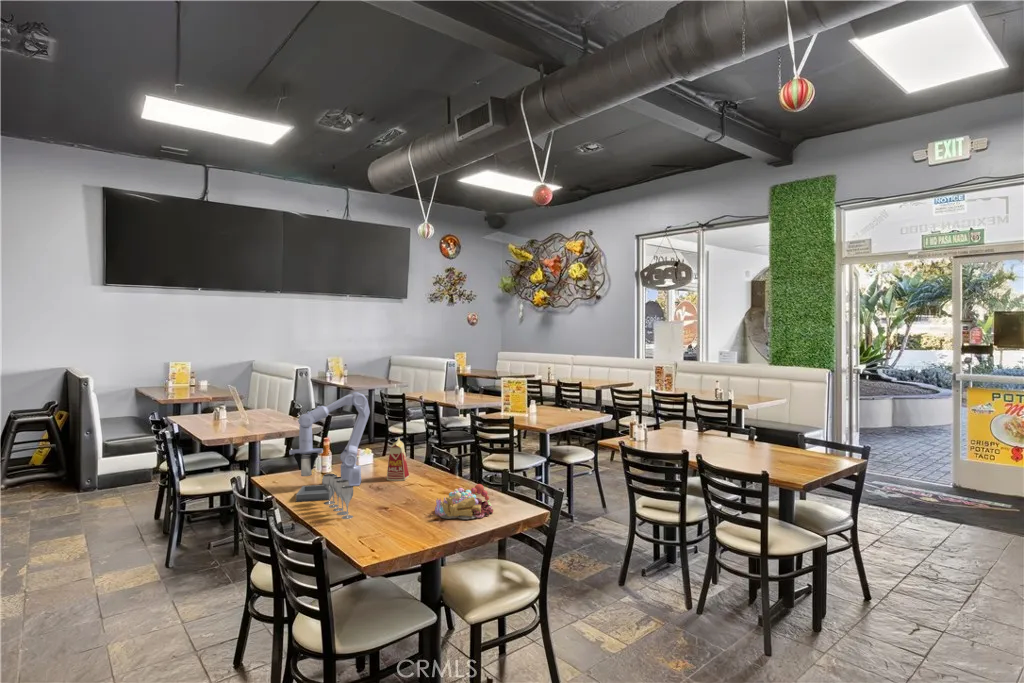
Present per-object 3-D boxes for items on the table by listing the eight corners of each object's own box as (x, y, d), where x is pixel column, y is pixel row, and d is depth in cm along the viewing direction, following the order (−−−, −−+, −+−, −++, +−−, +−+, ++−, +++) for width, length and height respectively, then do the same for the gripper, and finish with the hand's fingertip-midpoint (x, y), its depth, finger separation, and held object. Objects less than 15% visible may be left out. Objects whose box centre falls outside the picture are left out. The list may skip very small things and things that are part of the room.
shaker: (312, 473, 255) (312, 454, 255) (310, 476, 251) (310, 456, 251) (302, 474, 255) (302, 454, 254) (300, 476, 250) (299, 457, 250)
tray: (334, 490, 250) (334, 484, 250) (329, 499, 237) (329, 493, 237) (302, 492, 248) (302, 485, 248) (296, 501, 234) (295, 494, 234)
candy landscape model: (497, 519, 211) (496, 495, 211) (435, 523, 207) (435, 499, 207) (489, 500, 236) (488, 479, 236) (434, 503, 232) (433, 482, 232)
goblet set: (356, 517, 214) (356, 483, 214) (342, 520, 211) (341, 486, 210) (334, 500, 237) (333, 469, 236) (320, 502, 233) (320, 471, 233)
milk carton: (392, 476, 276) (392, 436, 276) (409, 476, 275) (409, 437, 275) (385, 480, 267) (385, 440, 267) (403, 481, 266) (403, 440, 266)
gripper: (323, 437, 258) (324, 466, 258) (291, 439, 255) (291, 467, 255) (321, 440, 251) (321, 470, 251) (287, 441, 248) (288, 471, 248)
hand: (306, 469), depth 253 cm, fingers closed on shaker, 5 cm apart
